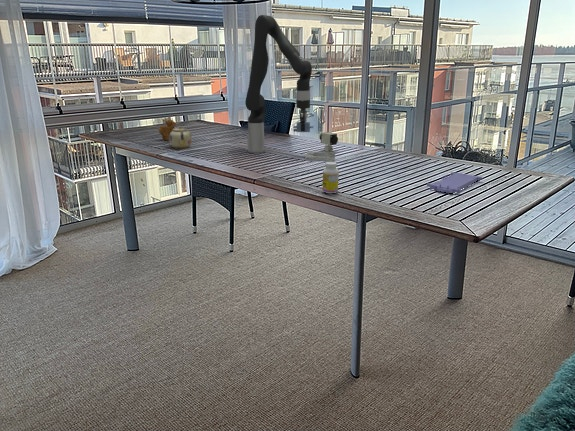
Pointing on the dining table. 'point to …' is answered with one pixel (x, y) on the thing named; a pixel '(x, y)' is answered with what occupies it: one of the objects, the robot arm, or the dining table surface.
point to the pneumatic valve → (328, 140)
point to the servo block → (307, 127)
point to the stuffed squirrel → (167, 129)
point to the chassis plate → (320, 156)
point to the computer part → (454, 182)
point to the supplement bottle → (330, 178)
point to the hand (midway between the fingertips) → (303, 130)
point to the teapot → (180, 138)
